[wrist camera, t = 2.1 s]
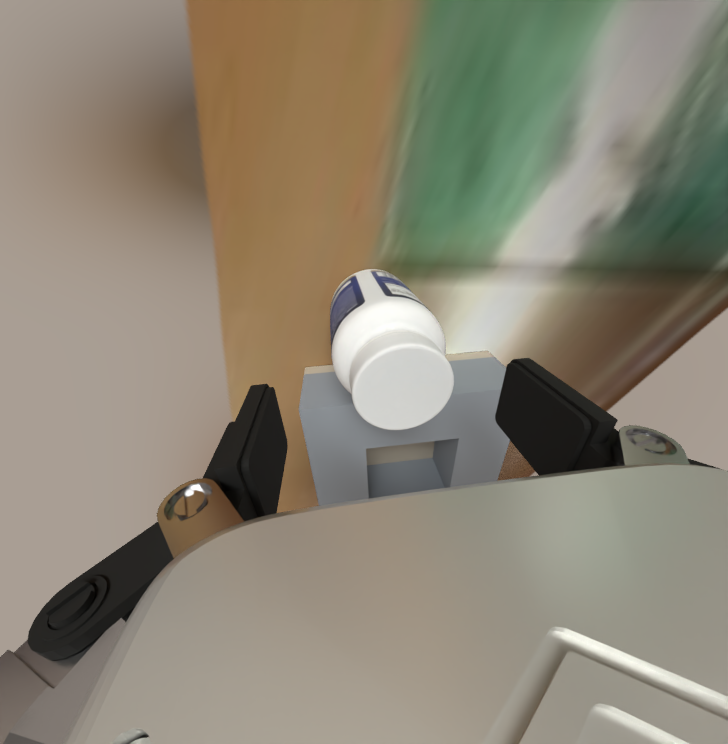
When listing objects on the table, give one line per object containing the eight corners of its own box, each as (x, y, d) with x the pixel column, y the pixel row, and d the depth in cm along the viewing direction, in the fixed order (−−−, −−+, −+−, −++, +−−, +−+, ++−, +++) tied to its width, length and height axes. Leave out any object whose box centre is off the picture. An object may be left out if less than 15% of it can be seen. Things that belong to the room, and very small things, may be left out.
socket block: (305, 367, 20) (298, 410, 16) (487, 350, 21) (526, 386, 17) (326, 487, 28) (326, 539, 24) (462, 471, 29) (485, 517, 24)
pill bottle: (344, 354, 20) (354, 457, 12) (318, 282, 18) (309, 352, 9) (415, 333, 20) (476, 423, 12) (401, 256, 17) (467, 304, 9)
